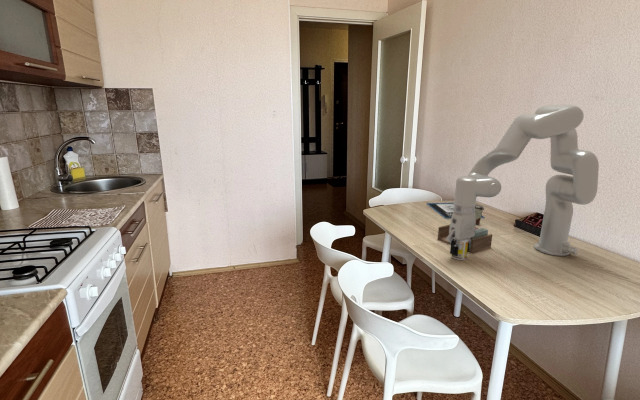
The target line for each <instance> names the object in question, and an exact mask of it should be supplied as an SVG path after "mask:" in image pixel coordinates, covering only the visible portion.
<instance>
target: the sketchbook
mask: <svg viewBox="0 0 640 400" xmlns="http://www.w3.org/2000/svg"><path fill="white" fill-rule="evenodd" d="M426 206H427V207H428V208H431V209H432V210H433V211H434V212H435V213H437V214H438V215H439V216H441V217H442V218H444V219H445V220H451V218H452V214H453V213H454V212H453V209H454V201H451V202H450V201H446V202H443V201H442V202H435V201H434V202H427V203H426ZM481 219H485V216H483V215H482V216H481Z"/></svg>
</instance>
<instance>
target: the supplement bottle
mask: <svg viewBox="0 0 640 400" xmlns="http://www.w3.org/2000/svg"><path fill="white" fill-rule="evenodd" d="M454 241H455V242H456V240H455V239H454ZM467 248H468V239H464V240H459V243H458V256H454V255H452V254H451V257H452V258H453V259H454V260H457V261H464V260H466V259H467V255H468V253H467Z"/></svg>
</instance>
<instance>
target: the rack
mask: <svg viewBox="0 0 640 400" xmlns="http://www.w3.org/2000/svg"><path fill="white" fill-rule="evenodd" d="M449 229H450V224H447V225H442V226H438V231H437V241H440V242H442V243H445V244H448V245H450V243H449V241H448V240H447V239H446V238H447V236H448V235H449ZM492 241H493V234H492V233H489V229H487V228H484V227H480V228H479V227H476V229H475V235H474V236H473V237H472V239H471V242H470V243H469V252H468V254H472V255H473V254H476V253H479V252H482V251H486V250H489V249H491V248H492ZM450 246H451V245H450Z"/></svg>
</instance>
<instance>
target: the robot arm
mask: <svg viewBox="0 0 640 400" xmlns="http://www.w3.org/2000/svg"><path fill="white" fill-rule="evenodd" d="M583 120H584V112H583V110H582V108H581V107H579V106H577V105H569V104H567V105H566V104H565V105H564V104H563V105H561V104H560V105H559V104H557V105H554V104H553V105H544V106H540V107H539V108H537V109H536V110H535V112H534V113H532V114H531V113H526V114H525V113H524V114H519V115H518V116H517V117H515V118H514V120H513V121H512V123H511V124H510V125H509V127H508V129H507V130H506V132H505V133H504V134H503V136H502V138H501V139H500V141H499V142H498V144H497V146H496V147H495V148H493V149H492V150H491V151H489V152H488V153H487V154H486V155H484V156H482V157H481V158H479V160H478V161H477V162H476V163H475V164H474V165H473V167H472V169H471V170H470V171H469V173H468V175H466V176H459V177H457V179H456V181H455V182H456V183H455V190H454V191H455V192H454V200H453V203H454V209H453V212H454V213H453V214H452V218H451V219H450V223H449V225H450V229H449V235H448V236H447V238H446V239H447V240H448V241H449V243H450V249H449V254H450V255H451V256H452V255H454V256H458V243H459V240H464V239H468V248H467V254H469V243H470V242H471V239H472V237H473V236H474V235H475V229H476V228H477V225H476V215H475V204H477V203H476V202H477V197H480V198H494V197H496V196H497V195H499V194H500V193H501V191H502V183H501V182H500V181H499V180H498V179H496V178H494V177H491V176H489V174H490V173H491V172H492V171H493V170H495V169H496V168H497V167H499V166H502V165H504V164H509V163H511V162H514V161H516V160H518V158H519V157H520V156H521V154H523V152H524V150H525V148H526V147H527V145H528V144H529V142H530V141H531V140H532V139H535V140H545V139H548V138H549V139H550V156H549V157H550V158H549V159H550V160H549V161H550V162H549V163H550V167H551V169H552V170H553V171H555V172H557V173H561V174H555V175H553V176H551V177H550V178H549V179H547V181H546V183H545V205H544V211H543V218H542V223H541V229H540V235H539V236H540V237H539V241H538V242H535V243H534V245H533V247H534V249H535V250H537V252H539V253H540V252H541V253H543V254H547V255H551V256H557V257H559V256H561V257H564V256H565V257H566V256H569V255H570V254H573V255H576V254H577V253H578V249H577V247H574V246H571V245H570V244H571V242H569V237H570V236H569V235H570V230H571V224H572V220H573V216H574V215H573V214H574V206H573V204H575V205H576V204H577V205H583V206H584V205H585V206H586V205H589V204H590V203H592V202H593V201H594V200H595V198H596V196H597V193H598V187H599V186H598V185H599V170H600V169H599V168H600V167H599V166H600V165H599V163H600V162H599V159H598V157H597V155H596V154H595V153H593V152H592V151H588V150H585V149H579V147H578V145H579V143H578V141H579V140H578V132H577V128H578V127H579V126H580V125H581V124H582V122H583ZM454 239H455V240H456V242H455V241H454Z"/></svg>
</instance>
